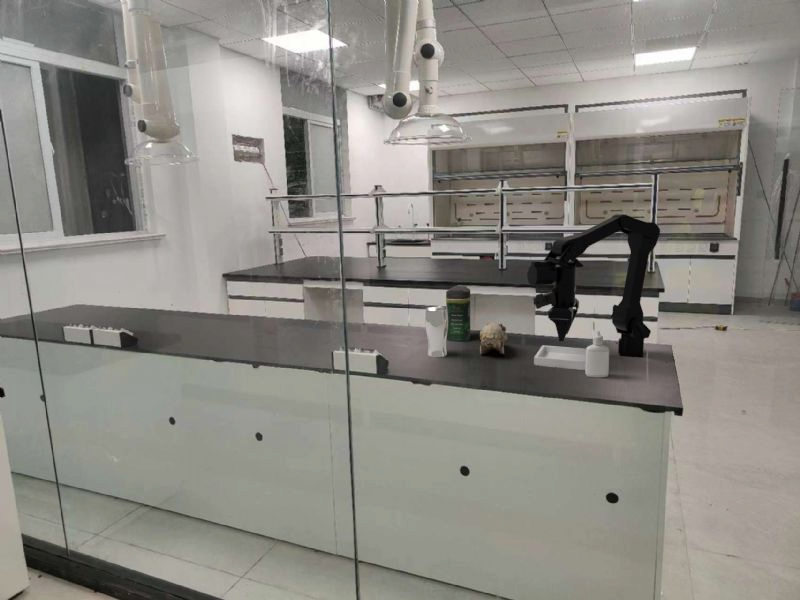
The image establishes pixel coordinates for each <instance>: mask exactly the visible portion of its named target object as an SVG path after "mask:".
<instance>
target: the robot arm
mask: <svg viewBox="0 0 800 600" xmlns="http://www.w3.org/2000/svg"><path fill="white" fill-rule="evenodd" d="M618 232H620V233H622V234H624V235H627V243H628V244H627V245H628V247H629V250H630V256H629V258H628V259H629V261H628V266H627V272H626V277H625V282H624V289H623V293H622V294H623V295H622V299H621V301H619V303H618V305H617V304H613V305H612V313H611V315H610V318H611V319H612V320H611V322H612V325H613V326H614V328H615V331H616V333H617V334H620V337H619V338H618V349H617V351H618V352H617V353H618V354H619V357H629V358H640V359H641V358H642V359H643V358H644V356H645V355H644V348H645V347H644V345H645V343H644V342H645V339H648V338H650V335H651V329H650V328H649V327H648V326H647V325H646V324H645V323H644V312H643V307H642V304H641V301H642V294H643V289H644V285H645V284H644V283H645V278H646V272H647V267H648V263H649V261H648V260H649V256H650V253H652V251H653V250H654V249H655V247H656V246H657V243H658V240H659V237H660V234H661V228H660V227H659V225H658V224H657V223H655V222H653V221H643V220H640V219H638V218H634V217H632V216H630V215H628V214H624V213H623V214H622V213H621V214H617V213H616V214H614V215H612V216H611V217H609V218H607V219H605V220H603V221H601V222H600V223H597V224H595V225H593V226H592V227H590V228H588V229H585V230H583V231H582V232H580V233H576V234H572V235H567V236H564V237H560V238H557V239H556V240H554V241H553V242H552V246H551V249H550V250H549V252H548V253H547V255H546V257H544V259H543V261H542V260H541V261H538V260H532V261H531V264H530V266H529V268H528V270H527V273H526V275H527V277H526V278H527V281H528V283H529V285H530V286H533V287H535V286H536V287H537V286H549V285H553V286H554V287H553V288H552V289H551V291H548V292H546V293H543V292H541V293H539V294H536V295H535V296H534V297H533V299H532V300H533V305H535V308H536V310H538V309H541V308H543V307H546V306H550V305H551V307H550V308H549V310H548V311H547V312H548V313H547V318H548V319H549V321H551V322H553V324H554V325H555V328H556V329H555V330H556V333H557V337H558V341H559V342H564V340H565V338H566V336H567V335H568V333H569V332H570V329H571V328H572V325H573V322H574V320H575V318H576V316H577V313H578V312H579V311H578V310H579V309H580V301H579V300H578V299H577V298H576V292H577V286H576V281H577V280H576V278H577V276H576V275H577V268H583V267H584V264H582V262H580V260H579V259H578V258H579V257H580V256H581V255H583V254H584V253H585V252H586V250H587V249H589V247H591V246H593V245H594V244H596V243H599V242H600V241H602V240H604V239H605V238H608V237H610V236H612V235H614V234H616V233H618Z"/></svg>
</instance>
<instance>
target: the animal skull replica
mask: <svg viewBox="0 0 800 600" xmlns="http://www.w3.org/2000/svg"><path fill="white" fill-rule="evenodd" d="M506 331H507V328H506V326H505V325H503V323H501V322H500V323H497V322H486V323H485V325H484V327H483V328H482V329H481V330H480V332H479V339H480V346H479V355H480V356H483V355H486V354H489V353H490V352H497V351H498V352H499V356H501V355H503V356H505V348H504V347H505V346H504V345H505V344H504V342H505V341H507V340H508V339H509V336H508V335H507V332H506ZM498 352H497V353H498Z"/></svg>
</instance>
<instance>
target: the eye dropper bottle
mask: <svg viewBox="0 0 800 600" xmlns="http://www.w3.org/2000/svg"><path fill="white" fill-rule="evenodd" d="M585 349H586V367H585V370H584V371H585V375H586V377H588V378H596V379H597V378H599V379H600V378H607V377H608V376H609V374H610V373H609V371H610V370H609V368H610V367H609V365H610V364H609V363H610V348H609V347H608V346H607V345H604V337H603V336H602V335H601V333H600V330H596V333H595V335H593V337H592V344H590V345H588V346H587V347H586V348H585Z"/></svg>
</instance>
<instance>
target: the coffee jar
mask: <svg viewBox="0 0 800 600" xmlns="http://www.w3.org/2000/svg"><path fill="white" fill-rule="evenodd" d="M445 305H446V306H445V307H446V308H447V311H448V333H447V339H446V341H449V342H456V343H462V342H463V343H465V342H468V341H469V340H470V339H471V289H470V288H468V286H466V285H455V286H453V287H451V288H448V289H447V290H446V292H445Z"/></svg>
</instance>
